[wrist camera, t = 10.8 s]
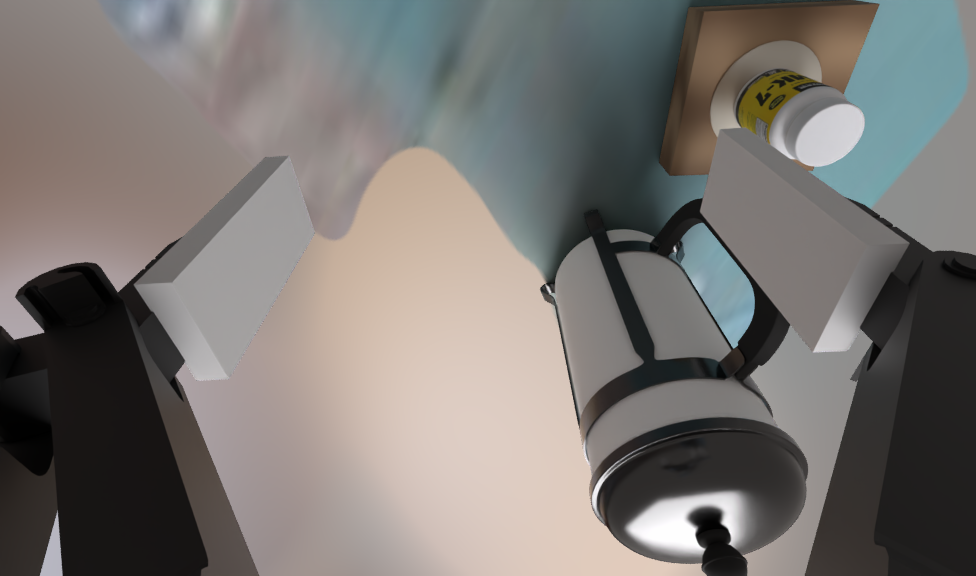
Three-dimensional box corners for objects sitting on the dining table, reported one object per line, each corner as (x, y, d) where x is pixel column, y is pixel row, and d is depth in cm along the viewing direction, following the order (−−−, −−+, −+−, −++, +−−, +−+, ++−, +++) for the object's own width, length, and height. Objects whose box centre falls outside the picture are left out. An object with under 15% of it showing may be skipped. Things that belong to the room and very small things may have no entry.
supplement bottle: (792, 53, 33) (871, 80, 26) (801, 112, 36) (876, 150, 29) (725, 88, 35) (784, 122, 28) (738, 142, 37) (795, 185, 30)
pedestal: (688, 7, 34) (705, 11, 32) (851, 0, 34) (881, 4, 31) (658, 162, 41) (670, 176, 39) (793, 157, 41) (814, 171, 39)
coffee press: (696, 300, 51) (888, 618, 27) (555, 334, 54) (613, 649, 30) (685, 155, 41) (972, 450, 17) (513, 207, 44) (548, 521, 20)
